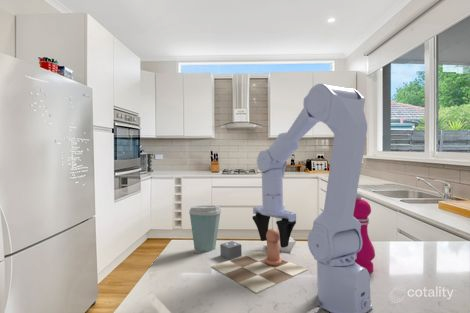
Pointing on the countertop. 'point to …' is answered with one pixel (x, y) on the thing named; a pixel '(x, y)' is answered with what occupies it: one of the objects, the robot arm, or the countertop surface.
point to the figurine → (291, 240)
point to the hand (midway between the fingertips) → (273, 243)
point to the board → (258, 271)
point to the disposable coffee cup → (204, 226)
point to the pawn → (273, 248)
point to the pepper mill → (364, 234)
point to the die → (230, 250)
